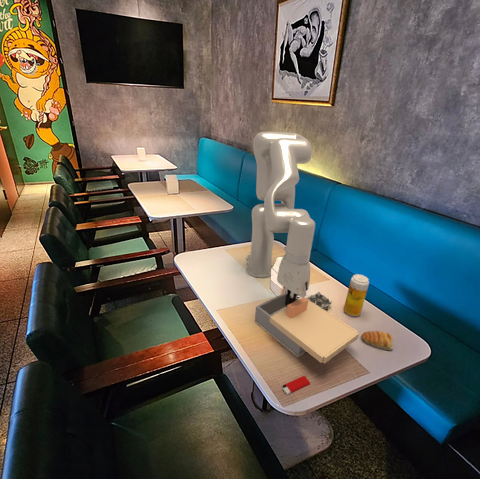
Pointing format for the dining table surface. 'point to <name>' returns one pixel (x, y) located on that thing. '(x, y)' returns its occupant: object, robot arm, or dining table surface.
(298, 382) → the lighter
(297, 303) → the lid
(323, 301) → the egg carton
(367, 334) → the pastry
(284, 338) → the box
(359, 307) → the beer can
